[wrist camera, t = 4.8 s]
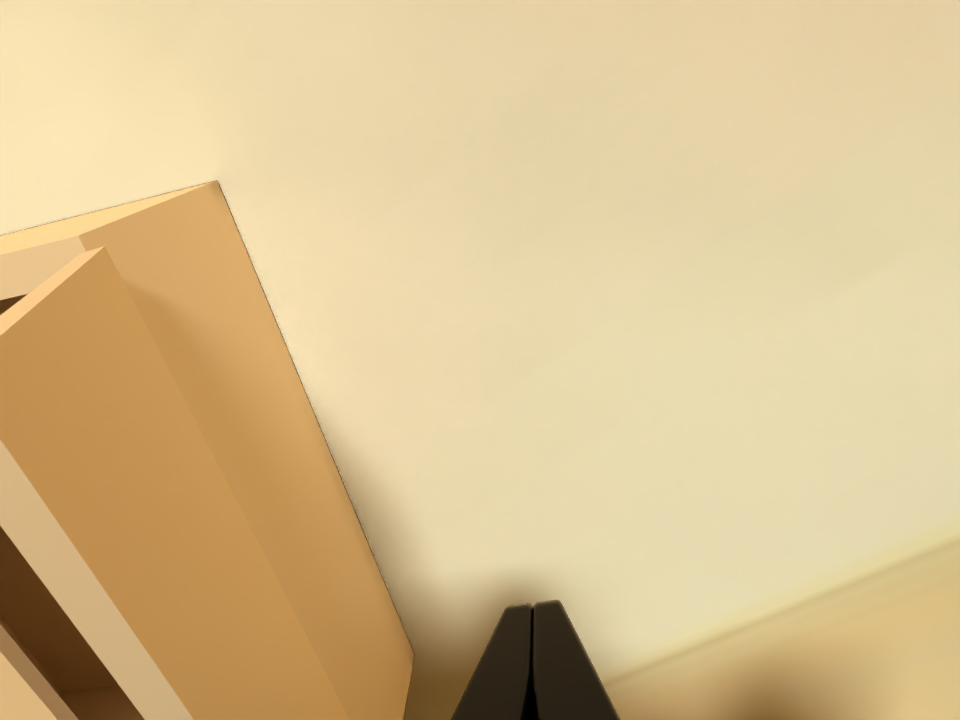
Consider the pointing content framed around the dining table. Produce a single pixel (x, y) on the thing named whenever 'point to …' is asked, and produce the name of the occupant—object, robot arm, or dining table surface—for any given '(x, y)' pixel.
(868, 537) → the dining table surface
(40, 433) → the flap
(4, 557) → the carton
